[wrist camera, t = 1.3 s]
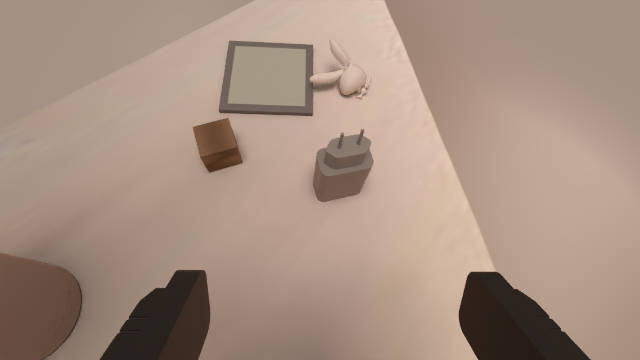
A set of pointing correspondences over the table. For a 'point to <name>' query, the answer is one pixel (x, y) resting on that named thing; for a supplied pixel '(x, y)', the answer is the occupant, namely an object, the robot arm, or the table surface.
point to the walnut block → (217, 145)
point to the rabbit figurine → (344, 73)
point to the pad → (268, 79)
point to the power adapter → (342, 167)
